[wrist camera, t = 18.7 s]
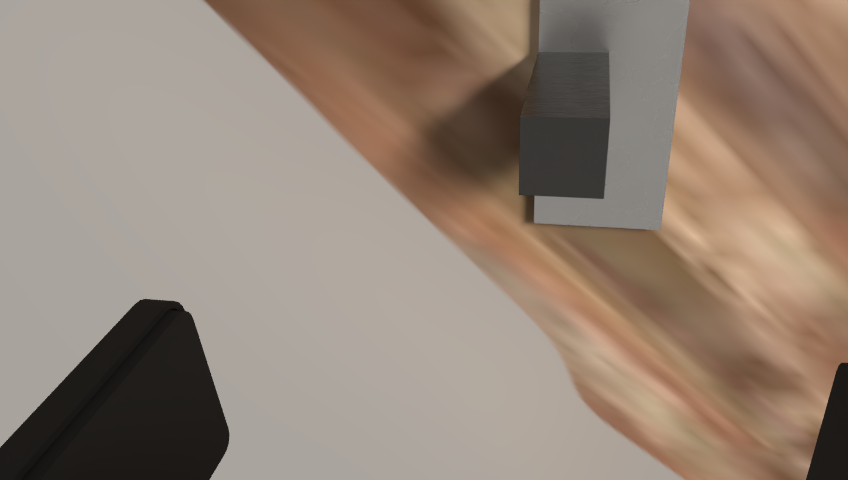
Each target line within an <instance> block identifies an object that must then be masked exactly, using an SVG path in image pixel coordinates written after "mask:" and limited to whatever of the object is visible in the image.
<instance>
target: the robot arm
mask: <svg viewBox="0 0 848 480" xmlns="http://www.w3.org/2000/svg"><path fill="white" fill-rule="evenodd" d="M228 443H229V430H228V426H227V423H226V420H225V417H224V413H223V410H222V407H221V404H220V401H219V398H218V395H217V392H216V389H215V385H214V382H213V379H212V376H211V373H210V370H209V367H208V364H207V361H206V357H205V355H204V351H203V348H202V345H201V342H200V339H199V335H198V332H197V329H196V326H195V323H194V320H193V318H192V315H191V314H190V313H189V312H186V311H185V310H184V308H183V306H182V305H181V304H180V303H179V302H175V301H164V300H150V299H143V300H140V301H139V302H137V303H136V304H135V305H134V306H133V307H132V308H131V309H130V310H129V311H128V312H127V313H126V314H125V315H124V316H123V318H122V319H121V320H120V321H119V322H118V323H117V324H116V325H115V326H114V327H113V328H112V329H111V330H110V332H108V334H107V335H106V336H105V337H104V338H103V339H102V340H101V341H100V342H99V343H98V344H97V345H96V346H95V347H94V348H93V350H92V351H91V352H90V353H89V354H88V355H87V356H86V357H85V358H84V359H83V360H82V361H81V362H80V363H79V364H78V366H76V368H75V369H74V370H73V371H72V372H71V373H70V374H69V375H68V376H67V377H66V378H65V379H64V380H63V381H62V383H60V385H59V386H58V387H57V388H56V389H55V390H54V391H53V392H52V393H51V394H50V395H49V396H48V397H47V398H46V399H45V401H44V402H43V403H42V404H41V405H40V406H39V407H38V408H37V409H36V410H35V411H34V412H33V413H32V414H31V415H30V416H29V417H28V419H27V420H26V421H25V422H24V423H23V424H22V425H21V426H20V427H19V428H18V429H17V430H16V431H15V432H14V434H13V435H12V436H11V437H10V438H9V439H8V440H7V441H6V442H5V443H4V444H3V445H2V446H1V448H0V480H209V479H210V478H211V475H212V474H213V473H214V471H215V469H216V468H217V466H218V464H219V463H220V461H221V459H222V458H223V456H224V454H225V452H226V450H227V447H228ZM806 480H848V363H841V364H840V365H839V366H838V369H837V371H836V375H835V378H834V382H833V386H832V389H831V393H830V396H829V400H828V403H827V407H826V411H825V414H824V418H823V421H822V425H821V428H820V432H819V436H818V439H817V443H816V446H815V450H814V453H813V457H812V461H811V464H810V468H809V471H808V475H807V478H806Z"/></svg>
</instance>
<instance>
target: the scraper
mask: <svg viewBox="0 0 848 480" xmlns="http://www.w3.org/2000/svg"><path fill="white" fill-rule="evenodd" d="M689 2H690V0H540V12H539V50H538V55H537V59H536V62H535V66H534V69H533V73H532V76H531V80H530V83H529V87H528V90H527V94H526V97H525V101H524V104H523V108H522V111H521V115H520V152H519V195H530V196H535V201H534V223H542V224H560V225H578V226H596V227H613V228H631V229H649V230H660V229H661V221H662V214H663V206H664V198H665V190H666V182H667V175H668V167H669V159H670V151H671V143H672V135H673V128H674V120H675V112H676V104H677V96H678V88H679V81H680V73H681V65H682V57H683V49H684V42H685V34H686V26H687V18H688V10H689Z"/></svg>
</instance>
